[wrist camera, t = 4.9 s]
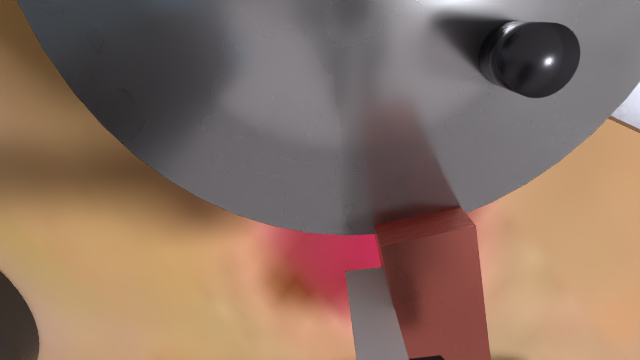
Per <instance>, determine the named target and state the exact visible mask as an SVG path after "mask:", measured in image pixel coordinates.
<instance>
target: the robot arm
mask: <svg viewBox="0 0 640 360" xmlns="http://www.w3.org/2000/svg"><path fill="white" fill-rule="evenodd" d="M345 272H346V280H347V288H348V296H349V304H350V312H351V320H352V328H353V336H354V344H355V351H356V359H357V360H445V359H444V358H443V357H442V356H441V355H437V356H429V357H420V358H411V359H409V358H408V354H407V351H406V347H405V344H404V340H403V337H402V333H401V330H400V326H399V323H398V319H397V316H396V312H395V309H394V307H393V304H392V300H391V297H390V293H389V290H388V286H387V282H386V279H385V275H384V272H383V268H382V267H379V268H371V269H361V270H353V271H345ZM38 354H39V336H38V330H37V326H36V323H35V320H34V318H33V315H32V313H31V311H30V309H29V307H28V305H27V304H26V302H25V300H24V299H23V297H22V296H21V294H20V293H19V292H18V290H17V289H16V288H15V287H14V286H13V284H12V283H11V282H10V281H9V280H8V279H7V278H6V277H5V276H4V275H3V274H2V273H1V272H0V360H37V359H38Z"/></svg>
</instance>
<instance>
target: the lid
mask: <svg viewBox="0 0 640 360" xmlns="http://www.w3.org/2000/svg"><path fill="white" fill-rule="evenodd" d="M17 2H18V4H19V6H20V8H21V10H22V11H23V13H24V15H25V17H26V19H27V20H28V22H29V24H30V26H31V28H32V29H33V31H34V33H35V35H36V37H37V38H38V40H39V42H40V44H41V46H42V47H43V49H44V51H45V52H46V54H47V55H48V57H49V58H50V59H51V61H52V62H53V64H54V65H55V67H56V68H57V69H58V71H59V72H60V74H61V75H62V77H63V78H64V79H65V81H66V82H67V84H68V85H69V87H70V88H71V89H72V91H73V92H74V93H75V94H76V95H77V97H78V98H79V99H80V100H81V101H82V102H83V103H84V105H85V106H86V107H87V108H88V109H89V110H90V111H91V113H92V114H93V115H94V116H95V117H96V118H97V120H98V121H99V122H100V123H101V124H102V125H103V126H104V127H105V128H106V129H107V130H108V131H109V132H110V133H111V134H112V135H114V136H115V137H116V138H117V139H118V140H119V141H120V142H121V143H122V144H123V145H124V146H125V147H127V148H128V149H129V150H130V151H131V152H132V153H133V154H134V155H135V156H137V157H138V158H139V159H141V160H142V161H143V162H145V163H146V164H147V165H149V166H150V167H152V168H153V169H154V170H156V171H157V172H158V173H160V174H161V175H162V176H164V177H165V178H166V179H168V180H169V181H171V182H173V183H175V184H176V185H178V186H180V187H181V188H183V189H185V190H187V191H188V192H190V193H192V194H194V195H195V196H197V197H199V198H201V199H202V200H204V201H207V202H209V203H211V204H213V205H216V206H218V207H220V208H223V209H225V210H227V211H230V212H232V213H234V214H236V215H239V216H242V217H246V218H249V219H252V220H255V221H259V222H262V223H265V224H269V225H272V226H276V227H281V228H287V229H292V230H298V231H303V232H309V233H321V234H336V235H360V234H375V238H376V243H377V247H378V252H379V256H380V261H381V265H382V268H383V272H384V275H385V279H386V282H387V286H388V290H389V293H390V297H391V300H392V304H393V307H394V309H395V312H396V316H397V319H398V323H399V326H400V330H401V333H402V337H403V340H404V344H405V347H406V351H407V354H408V358H409V359H411V358H420V357H429V356H437V355H441V356H442V357H443V358H444V359H445V360H490V350H489V341H488V332H487V323H486V314H485V305H484V296H483V287H482V278H481V269H480V260H479V251H478V242H477V232H476V226H475V224H474V223H473V222H472V220H471V219H470V218H469V217H468V215H467V214H466V213H467V212H469V211H472V210H474V209H477V208H479V207H482V206H484V205H487V204H489V203H491V202H493V201H495V200H497V199H499V198H501V197H503V196H505V195H506V194H508V193H510V192H512V191H514V190H516V189H518V188H520V187H521V186H523V185H525V184H527V183H528V182H530V181H531V180H533V179H534V178H536V177H537V176H539V175H540V174H542V173H543V172H544V171H546V170H547V169H549V168H550V167H552V166H553V165H555V164H556V163H558V162H559V161H561V160H562V159H563V158H564V157H565V156H566V155H568V154H569V153H570V152H571V151H572V150H574V149H575V148H576V147H577V146H578V145H580V144H581V143H582V142H583V141H584V140H586V139H587V138H588V137H589V136H590V135H592V134H593V133H594V132H595V131H596V130H597V129H598V128H599V127H600V126H601V125H602V124H603V123H604V121H605V120H606V119H607V118H608V117H609V116H610V115H611V114H612V113H613V112H614V111H615V110H616V109H617V108H618V107H619V106H620V105H621V104H622V103H623V102H624V101H625V100H626V99H627V97H628V96H629V95H630V94H631V92H632V91H633V90H634V89H635V87H636V86H637V85H638V84H639V82H640V0H17Z"/></svg>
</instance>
